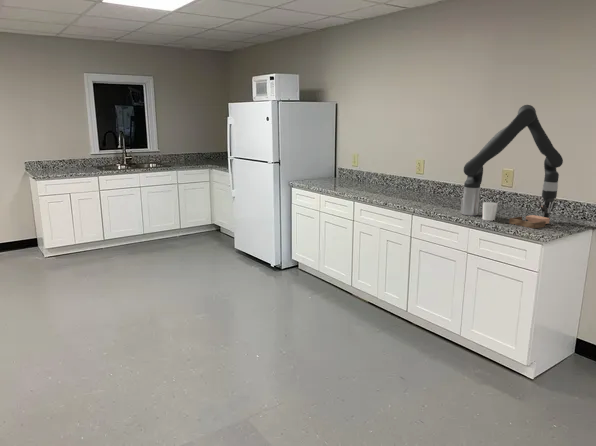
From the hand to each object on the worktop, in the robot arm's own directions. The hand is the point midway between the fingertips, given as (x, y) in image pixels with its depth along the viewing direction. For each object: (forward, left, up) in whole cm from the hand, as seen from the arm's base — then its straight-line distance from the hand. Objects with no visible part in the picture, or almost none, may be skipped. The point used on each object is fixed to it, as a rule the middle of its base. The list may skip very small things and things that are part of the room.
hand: (546, 219), depth 269 cm
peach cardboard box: (0, -9, -2) cm, 9 cm away
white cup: (-20, -25, -2) cm, 32 cm away
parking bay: (0, -18, -2) cm, 18 cm away
